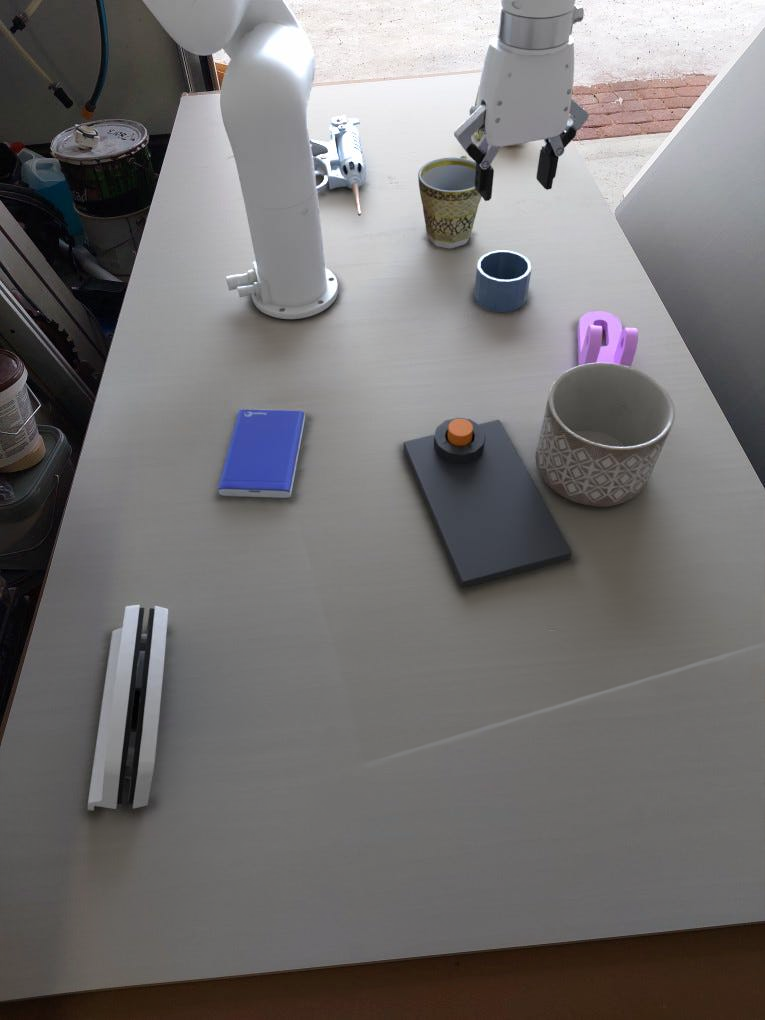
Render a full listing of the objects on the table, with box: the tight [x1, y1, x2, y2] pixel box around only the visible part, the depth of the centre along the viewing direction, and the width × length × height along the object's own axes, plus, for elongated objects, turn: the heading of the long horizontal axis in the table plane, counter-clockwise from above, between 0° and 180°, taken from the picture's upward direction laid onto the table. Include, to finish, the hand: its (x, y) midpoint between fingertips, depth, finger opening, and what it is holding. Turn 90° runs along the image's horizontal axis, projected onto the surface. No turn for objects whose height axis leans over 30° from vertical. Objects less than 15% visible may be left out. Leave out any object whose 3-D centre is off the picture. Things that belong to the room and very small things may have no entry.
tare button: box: [448, 418, 473, 447], centre depth 78 cm, size 3×3×2 cm
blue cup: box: [473, 249, 532, 313], centre depth 97 cm, size 7×7×5 cm
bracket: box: [576, 310, 639, 368], centre depth 89 cm, size 13×6×7 cm, turn 172°
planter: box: [535, 363, 676, 507], centre depth 75 cm, size 13×13×10 cm
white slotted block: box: [87, 604, 169, 812], centre depth 60 cm, size 17×5×10 cm, turn 6°
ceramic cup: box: [417, 155, 482, 250], centre depth 105 cm, size 13×10×10 cm
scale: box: [403, 417, 573, 589], centre depth 76 cm, size 12×20×3 cm, turn 16°
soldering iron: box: [309, 115, 367, 217], centre depth 118 cm, size 6×28×16 cm
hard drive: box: [217, 408, 306, 499], centre depth 81 cm, size 2×8×12 cm
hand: (513, 188), depth 86 cm, fingers open, 7 cm apart
